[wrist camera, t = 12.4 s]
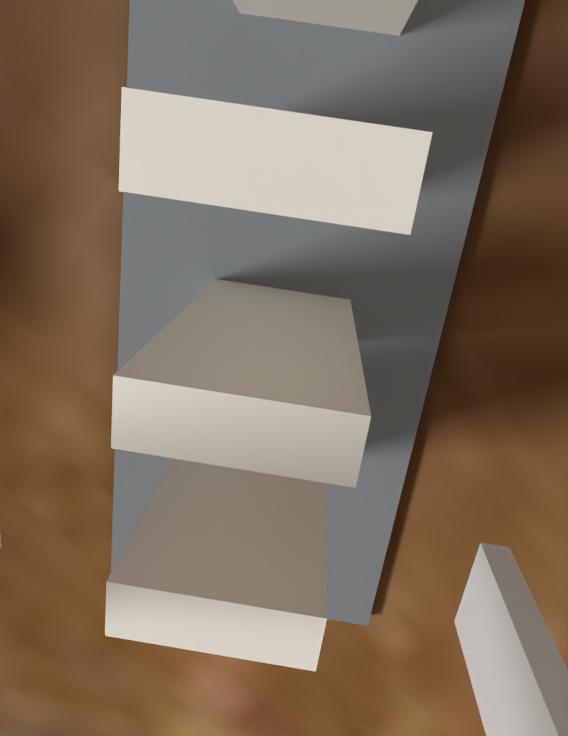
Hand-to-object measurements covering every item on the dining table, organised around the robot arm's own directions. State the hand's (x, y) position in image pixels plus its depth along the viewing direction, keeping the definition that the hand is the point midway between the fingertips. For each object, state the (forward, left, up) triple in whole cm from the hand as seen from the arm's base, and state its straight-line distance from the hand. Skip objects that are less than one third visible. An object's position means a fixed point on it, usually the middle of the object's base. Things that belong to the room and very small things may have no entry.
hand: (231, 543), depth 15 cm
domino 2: (-5, 0, -7) cm, 9 cm away
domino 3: (0, 0, -7) cm, 7 cm away
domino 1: (-10, 0, -7) cm, 12 cm away
